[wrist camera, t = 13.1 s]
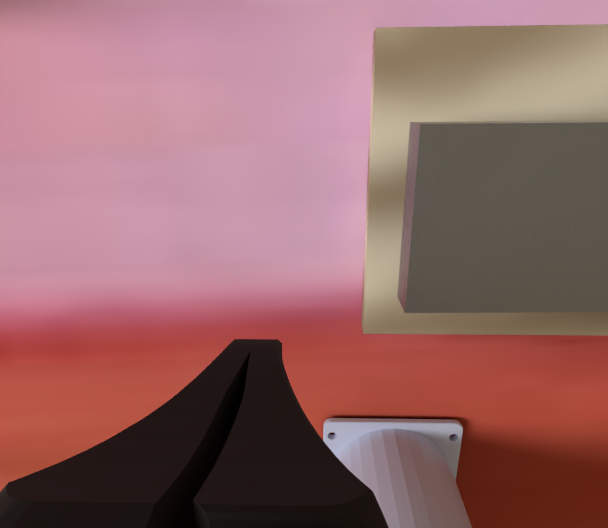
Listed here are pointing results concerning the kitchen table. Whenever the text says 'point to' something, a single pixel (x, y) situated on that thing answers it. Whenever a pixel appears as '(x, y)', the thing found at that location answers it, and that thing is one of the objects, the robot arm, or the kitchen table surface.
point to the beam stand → (464, 108)
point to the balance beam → (505, 217)
